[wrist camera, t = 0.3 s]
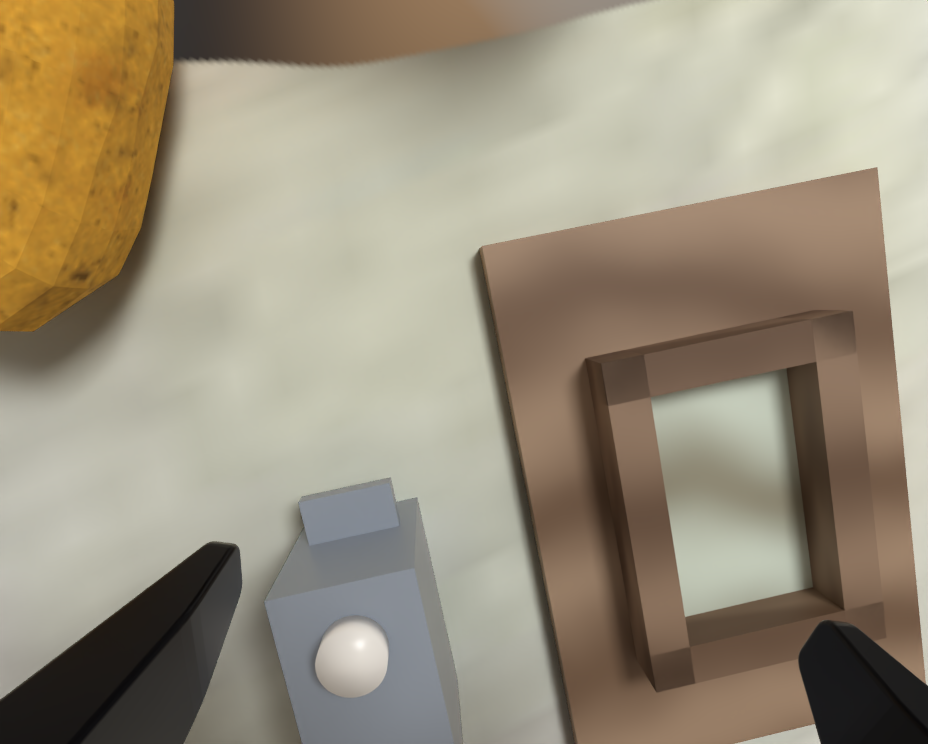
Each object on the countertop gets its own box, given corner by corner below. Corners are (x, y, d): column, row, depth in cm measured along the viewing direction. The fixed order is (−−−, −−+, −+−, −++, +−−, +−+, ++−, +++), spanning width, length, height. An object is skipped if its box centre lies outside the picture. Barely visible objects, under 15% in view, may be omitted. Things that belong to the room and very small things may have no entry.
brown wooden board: (906, 680, 24) (970, 730, 22) (577, 760, 24) (598, 823, 21) (856, 173, 21) (923, 153, 19) (479, 248, 21) (488, 240, 18)
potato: (-54, 287, 20) (-315, 279, 13) (29, -133, 18) (-213, -400, 11) (150, 344, 21) (8, 365, 14) (245, -56, 19) (141, -263, 12)
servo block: (464, 710, 23) (481, 876, 17) (361, 735, 23) (335, 912, 16) (408, 458, 22) (401, 527, 15) (298, 482, 22) (240, 563, 15)
